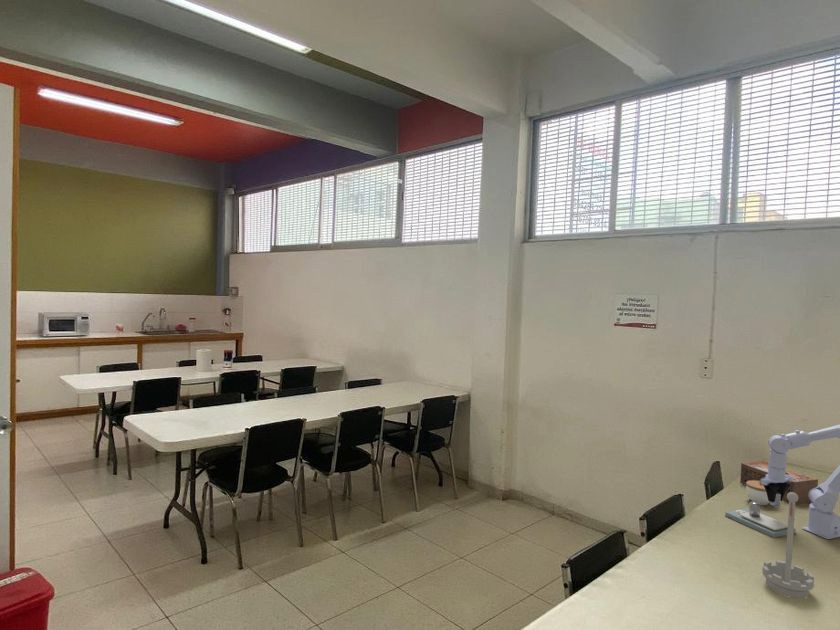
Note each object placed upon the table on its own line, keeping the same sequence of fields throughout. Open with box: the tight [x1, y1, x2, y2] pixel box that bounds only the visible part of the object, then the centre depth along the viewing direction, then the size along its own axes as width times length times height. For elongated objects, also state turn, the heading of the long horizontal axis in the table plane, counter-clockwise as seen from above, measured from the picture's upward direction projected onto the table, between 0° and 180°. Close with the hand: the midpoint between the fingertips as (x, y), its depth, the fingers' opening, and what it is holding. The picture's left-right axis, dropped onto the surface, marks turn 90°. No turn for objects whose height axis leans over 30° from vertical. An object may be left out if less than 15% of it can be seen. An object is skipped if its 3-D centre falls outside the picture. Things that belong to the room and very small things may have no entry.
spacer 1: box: [748, 501, 761, 517], centre depth 210 cm, size 4×4×5 cm
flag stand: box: [762, 492, 815, 599], centre depth 163 cm, size 13×13×30 cm
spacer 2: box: [768, 491, 782, 508], centre depth 209 cm, size 4×4×5 cm
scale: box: [724, 507, 797, 539], centre depth 209 cm, size 20×12×3 cm, turn 22°
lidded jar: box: [745, 480, 769, 506], centre depth 231 cm, size 11×11×9 cm
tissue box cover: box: [739, 460, 819, 505], centre depth 244 cm, size 26×14×10 cm, turn 18°
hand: (775, 500), depth 209 cm, fingers closed on spacer 2, 4 cm apart
